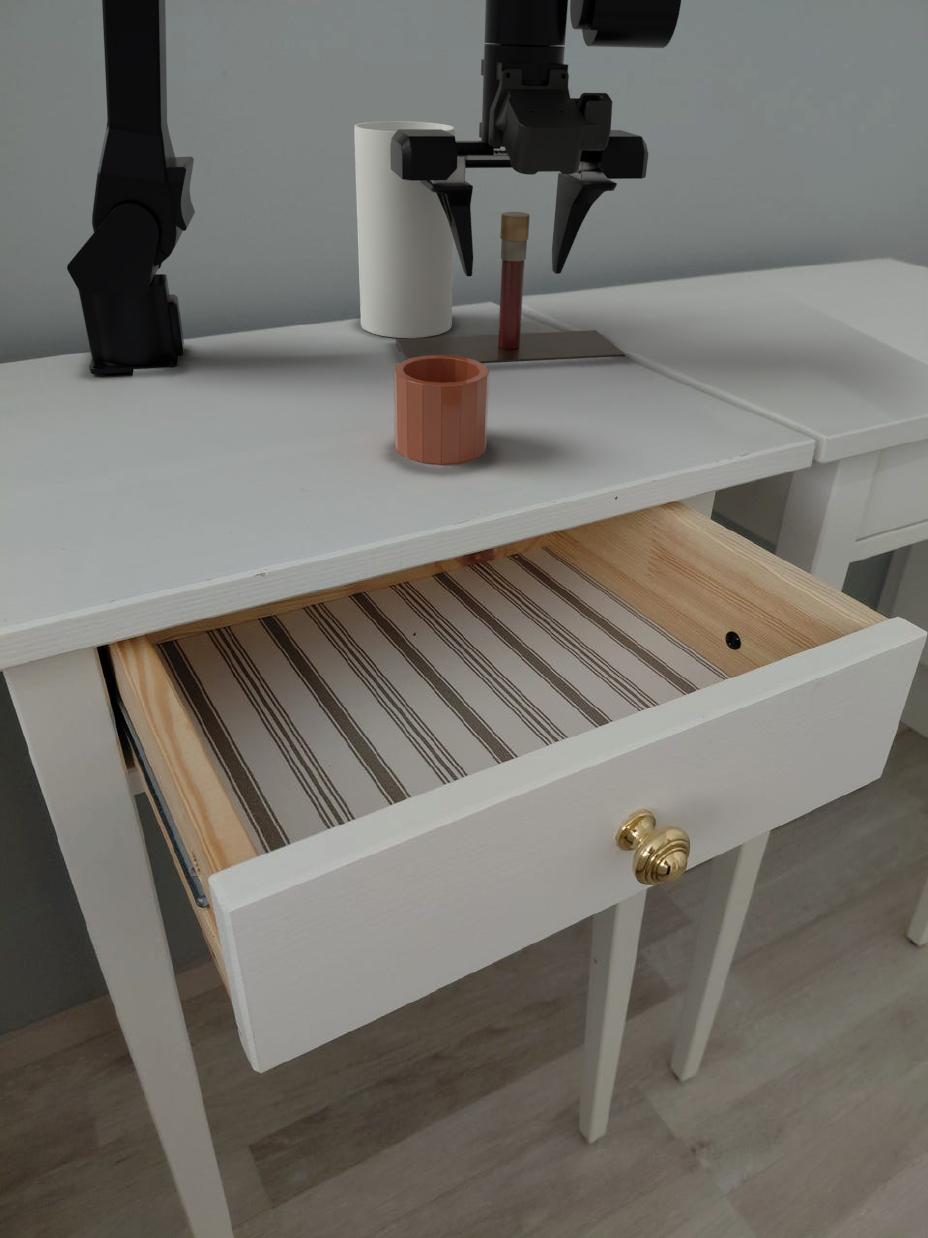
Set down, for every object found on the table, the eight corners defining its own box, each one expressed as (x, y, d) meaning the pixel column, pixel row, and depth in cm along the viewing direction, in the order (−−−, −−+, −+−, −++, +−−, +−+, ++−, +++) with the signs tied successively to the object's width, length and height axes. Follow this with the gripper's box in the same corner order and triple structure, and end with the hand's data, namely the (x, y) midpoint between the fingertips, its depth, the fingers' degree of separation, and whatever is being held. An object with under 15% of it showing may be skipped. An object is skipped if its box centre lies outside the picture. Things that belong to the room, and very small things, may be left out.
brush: (499, 351, 76) (505, 216, 71) (492, 343, 78) (498, 211, 73) (525, 349, 77) (533, 216, 71) (517, 341, 79) (525, 211, 73)
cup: (440, 341, 80) (443, 133, 71) (349, 333, 81) (340, 128, 73) (459, 316, 87) (464, 123, 78) (375, 309, 88) (370, 118, 79)
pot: (404, 474, 57) (403, 387, 54) (389, 438, 62) (387, 356, 59) (495, 467, 58) (499, 382, 55) (473, 433, 63) (476, 352, 60)
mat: (410, 372, 73) (410, 364, 73) (395, 345, 79) (395, 338, 79) (624, 361, 77) (625, 354, 77) (595, 336, 83) (596, 329, 82)
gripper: (416, 46, 57) (417, 304, 66) (694, 52, 61) (661, 295, 70) (387, 40, 66) (391, 268, 75) (631, 46, 70) (608, 262, 79)
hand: (512, 273), depth 74 cm, fingers open, 7 cm apart
